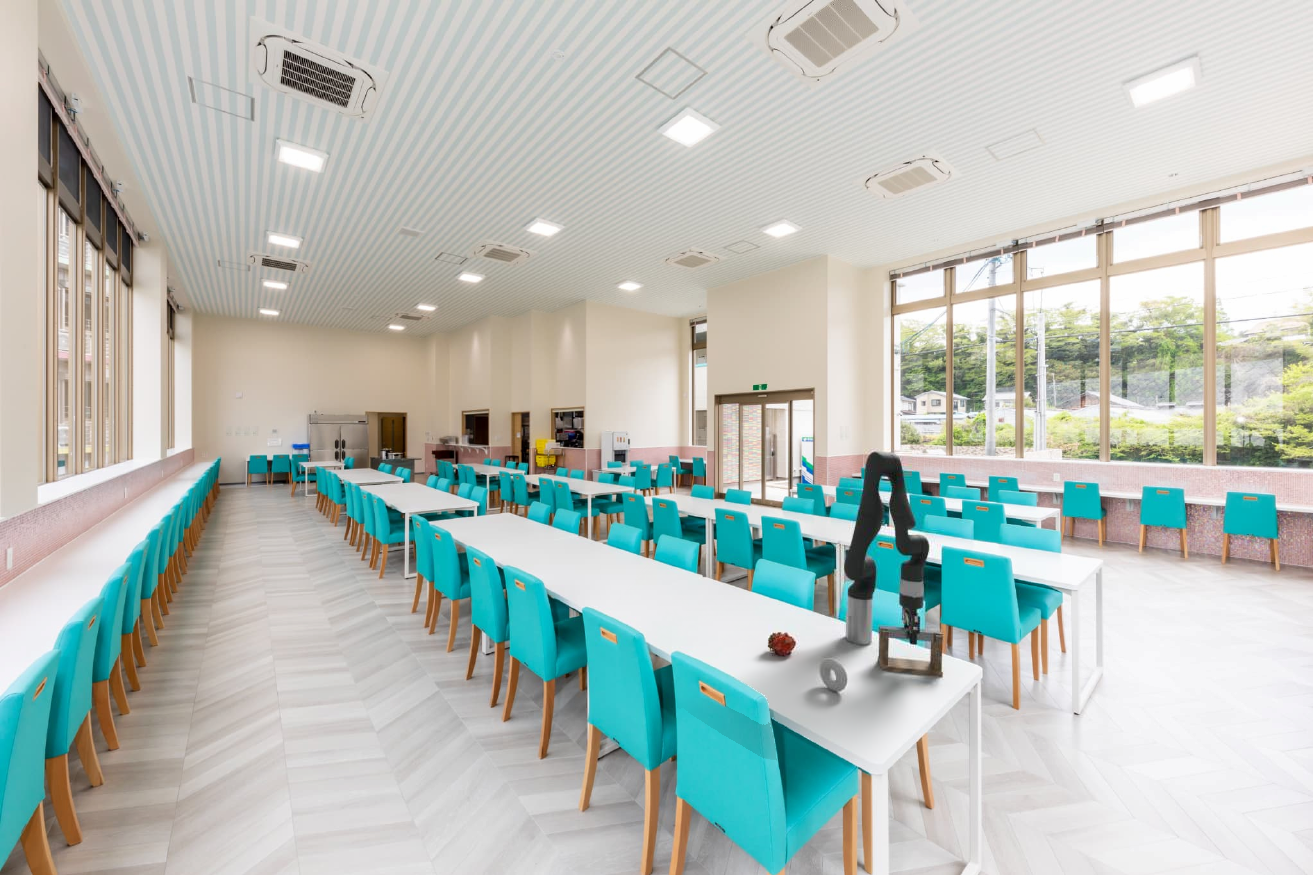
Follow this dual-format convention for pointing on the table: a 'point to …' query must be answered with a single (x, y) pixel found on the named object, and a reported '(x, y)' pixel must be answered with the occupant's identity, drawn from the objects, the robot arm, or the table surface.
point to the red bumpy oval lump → (781, 643)
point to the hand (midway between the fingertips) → (910, 639)
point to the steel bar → (905, 634)
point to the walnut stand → (907, 664)
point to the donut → (839, 672)
